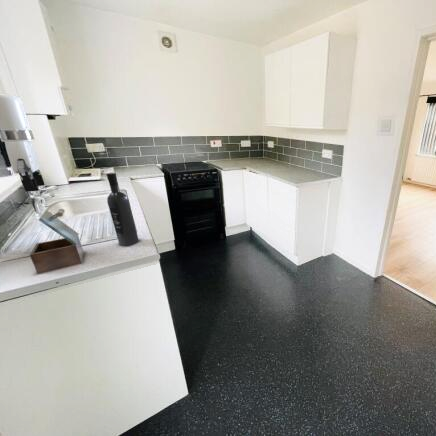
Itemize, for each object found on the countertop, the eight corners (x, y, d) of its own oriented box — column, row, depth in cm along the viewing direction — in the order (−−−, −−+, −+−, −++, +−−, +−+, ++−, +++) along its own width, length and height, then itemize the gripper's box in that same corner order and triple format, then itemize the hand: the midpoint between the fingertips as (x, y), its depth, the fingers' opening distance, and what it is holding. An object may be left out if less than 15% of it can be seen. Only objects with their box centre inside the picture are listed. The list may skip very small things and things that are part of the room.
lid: (38, 219, 78) (53, 209, 80) (44, 211, 86) (58, 202, 88) (74, 244, 85) (87, 235, 87) (76, 235, 93) (89, 226, 95)
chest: (38, 275, 82) (29, 254, 79) (44, 262, 90) (36, 243, 87) (82, 264, 88) (75, 245, 86) (84, 253, 96) (78, 235, 94)
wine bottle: (128, 248, 100) (109, 175, 90) (118, 246, 102) (98, 174, 92) (140, 242, 105) (123, 172, 95) (130, 240, 107) (112, 172, 97)
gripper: (8, 136, 84) (27, 185, 89) (-11, 137, 70) (12, 195, 76) (39, 135, 88) (54, 183, 93) (26, 137, 74) (45, 191, 80)
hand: (35, 188), depth 85 cm, fingers open, 9 cm apart
